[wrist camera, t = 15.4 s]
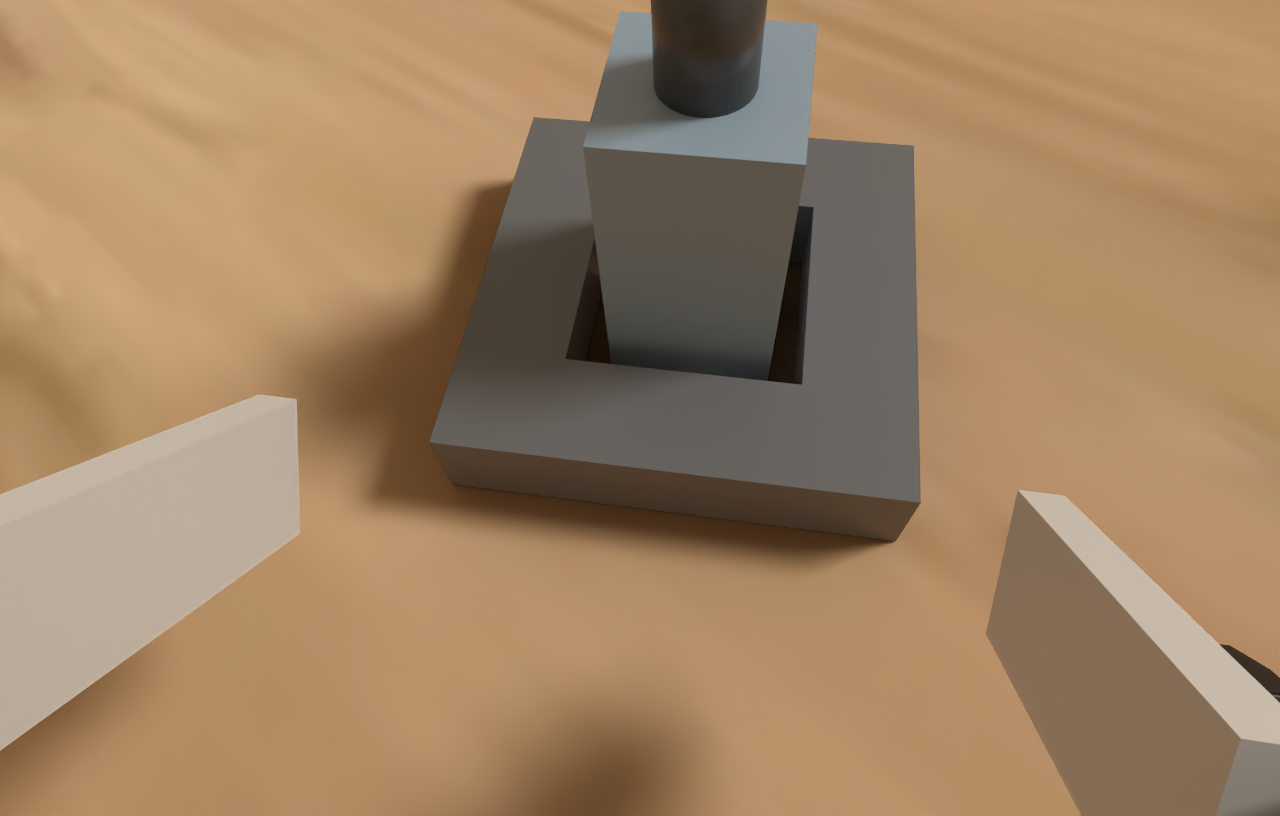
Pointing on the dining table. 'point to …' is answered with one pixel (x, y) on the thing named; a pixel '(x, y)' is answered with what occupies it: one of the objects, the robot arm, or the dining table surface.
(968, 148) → the dining table surface
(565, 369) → the frame
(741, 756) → the dining table surface
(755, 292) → the connector plug
